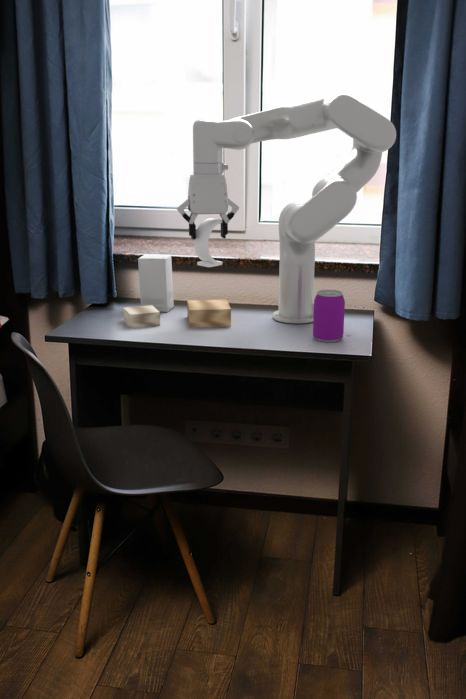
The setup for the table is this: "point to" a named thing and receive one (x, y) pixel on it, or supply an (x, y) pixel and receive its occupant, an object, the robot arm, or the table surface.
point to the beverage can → (328, 316)
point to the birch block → (141, 316)
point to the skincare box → (156, 281)
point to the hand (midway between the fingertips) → (208, 237)
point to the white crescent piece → (205, 242)
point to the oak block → (208, 313)
